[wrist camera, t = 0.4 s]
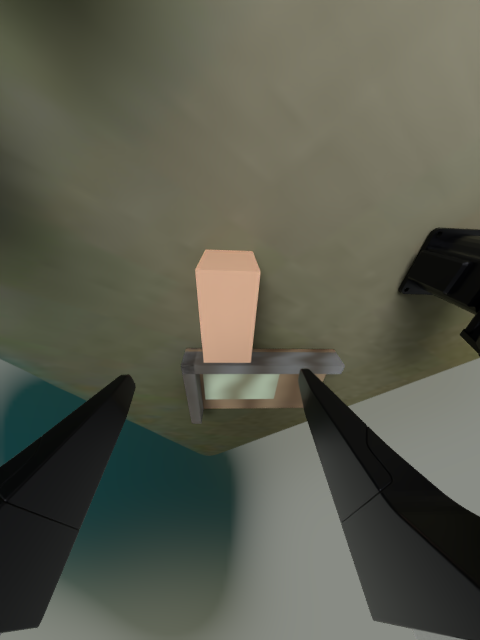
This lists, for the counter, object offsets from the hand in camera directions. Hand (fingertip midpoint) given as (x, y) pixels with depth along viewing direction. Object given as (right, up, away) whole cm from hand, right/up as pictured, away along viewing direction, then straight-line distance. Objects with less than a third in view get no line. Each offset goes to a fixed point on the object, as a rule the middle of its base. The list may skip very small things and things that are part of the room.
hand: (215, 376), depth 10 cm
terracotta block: (0, +6, +10) cm, 12 cm away
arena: (+4, -6, +19) cm, 20 cm away
